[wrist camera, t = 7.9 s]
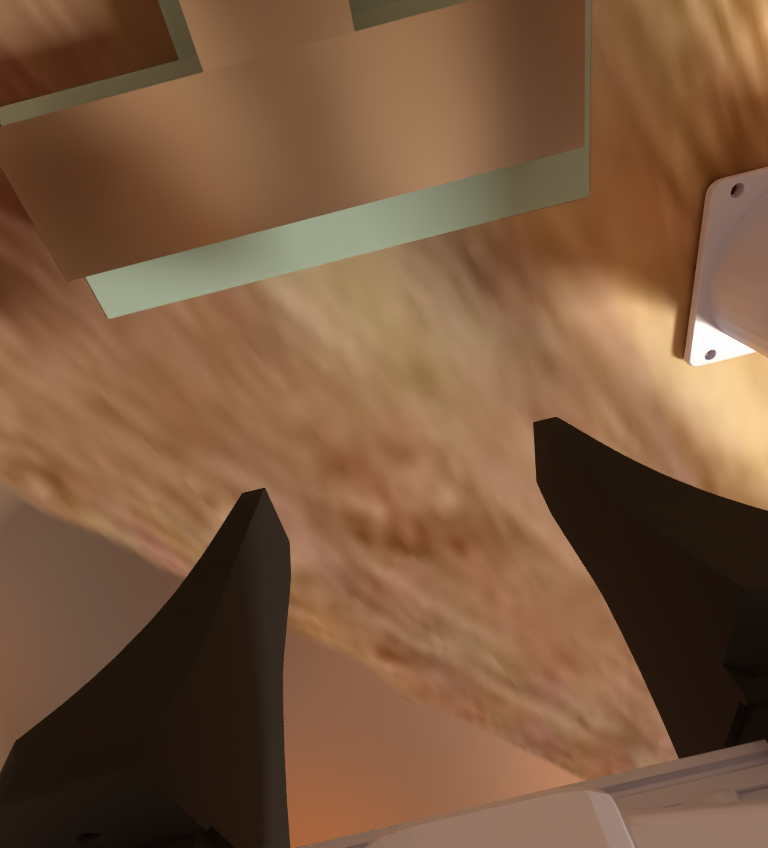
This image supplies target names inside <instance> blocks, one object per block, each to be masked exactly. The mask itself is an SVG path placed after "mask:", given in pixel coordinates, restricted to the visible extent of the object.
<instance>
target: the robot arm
mask: <svg viewBox="0 0 768 848" xmlns="http://www.w3.org/2000/svg"><path fill="white" fill-rule="evenodd" d="M736 184H737V189H736V191H735V192H734V194H733V195H731V190H732V188H733V187H734V185H736ZM709 350H710V352H709V353H708V354H707V355H706V356H705V354H706V353H707V352H708V351H709ZM754 352H758V353H760V354H762V355H764V356H766V357H768V166H767V167H763V168H760V169H756V170H752V171H748V172H744V173H740V174H736V175H732V176H728V177H724V178H720V179H718V180H716V181H714V182H713V183H712V184H711V185H710V187H709V188H708V190H707V193H706V196H705V204H704V211H703V219H702V226H701V234H700V241H699V249H698V257H697V264H696V272H695V279H694V287H693V295H692V302H691V310H690V317H689V325H688V332H687V340H686V348H685V355H684V359H685V362H686V363H687V364H689V365H690V366H693V367H698V366H702V365H706V364H710V363H714V362H718V361H722V360H726V359H730V358H734V357H738V356H742V355H746V354H750V353H754ZM533 426H534V444H535V463H536V481H537V484H538V486H539V488H540V491H541V493H542V495H543V497H544V499H545V502H546V504H547V506H548V508H549V510H550V512H551V514H552V516H553V517H554V519H555V520H556V522H557V524H558V525H559V527H560V528H561V530H562V532H563V533H564V535H565V536H566V538H567V539H568V541H569V543H570V544H571V546H572V547H573V549H574V550H575V552H576V553H577V555H578V557H579V558H580V560H581V561H582V563H583V564H584V566H585V568H586V569H587V571H588V572H589V574H590V575H591V577H592V578H593V580H594V582H595V583H596V585H597V587H598V588H599V590H600V592H601V593H602V595H603V597H604V599H605V601H606V603H607V605H608V607H609V609H610V611H611V613H612V615H613V617H614V619H615V620H616V622H617V624H618V626H619V628H620V630H621V632H622V634H623V637H624V639H625V641H626V643H627V645H628V647H629V649H630V651H631V653H632V655H633V657H634V659H635V661H636V664H637V666H638V668H639V670H640V672H641V674H642V676H643V679H644V681H645V683H646V685H647V687H648V689H649V692H650V694H651V696H652V698H653V700H654V703H655V705H656V707H657V709H658V711H659V714H660V716H661V718H662V720H663V723H664V725H665V727H666V730H667V732H668V734H669V737H670V739H671V741H672V744H673V746H674V748H675V751H676V753H677V755H678V758H679V759H677V760H673V761H669V762H664V763H660V764H656V765H651V766H647V767H643V768H638V769H634V770H630V771H625V772H621V773H617V774H612V775H608V776H604V777H599V778H595V779H591V780H586V781H582V782H578V783H574V784H569V785H565V786H561V787H556V788H552V789H548V790H543V791H539V792H535V793H531V794H526V795H522V796H517V797H513V798H509V799H504V800H500V801H496V802H491V803H487V804H483V805H478V806H474V807H470V808H465V809H461V810H457V811H452V812H448V813H444V814H440V815H435V816H431V817H427V818H422V819H418V820H414V821H409V822H405V823H400V824H396V825H392V826H388V827H383V828H379V829H375V830H370V831H366V832H362V833H357V834H353V835H349V836H344V837H340V838H336V839H332V840H327V841H323V842H319V843H314V844H310V845H306V846H301V847H297V848H768V511H767V510H763V509H760V508H756V507H752V506H749V505H746V504H743V503H740V502H736V501H733V500H730V499H727V498H724V497H721V496H718V495H715V494H712V493H709V492H706V491H704V490H701V489H698V488H696V487H693V486H691V485H688V484H686V483H683V482H680V481H678V480H675V479H673V478H671V477H668V476H666V475H664V474H661V473H659V472H657V471H655V470H653V469H651V468H649V467H647V466H645V465H642V464H640V463H638V462H636V461H634V460H632V459H630V458H628V457H626V456H624V455H623V454H621V453H619V452H617V451H615V450H613V449H611V448H610V447H608V446H606V445H604V444H602V443H601V442H599V441H597V440H595V439H594V438H592V437H590V436H589V435H587V434H585V433H583V432H582V431H580V430H578V429H577V428H575V427H573V426H572V425H570V424H568V423H567V422H565V421H563V420H561V419H560V418H558V417H553V418H549V419H545V420H541V421H537V422H533ZM290 582H291V563H290V544H289V540H288V537H287V535H286V533H285V531H284V529H283V526H282V524H281V522H280V520H279V518H278V515H277V513H276V511H275V509H274V507H273V504H272V502H271V500H270V498H269V496H268V493H267V491H266V489H265V488H261V489H257V490H253V491H249V492H245V493H242V495H241V496H240V498H239V499H238V501H237V502H236V504H235V505H234V507H233V509H232V510H231V512H230V513H229V515H228V517H227V518H226V520H225V521H224V523H223V524H222V526H221V528H220V529H219V531H218V532H217V534H216V535H215V537H214V539H213V540H212V542H211V543H210V545H209V546H208V548H207V549H206V551H205V552H204V554H203V555H202V557H201V558H200V559H199V561H198V562H197V563H196V565H195V566H194V568H193V569H192V570H191V572H190V573H189V574H188V576H187V577H186V579H185V580H184V581H183V583H182V584H181V585H180V587H179V588H178V589H177V591H176V592H175V593H174V594H173V596H172V597H171V598H170V599H169V600H168V601H167V603H166V604H165V605H164V606H163V607H162V608H161V610H160V611H159V612H158V613H157V614H156V615H155V617H154V618H153V619H152V620H151V621H150V622H149V623H148V624H147V625H146V626H145V627H144V628H143V629H142V631H141V632H140V633H139V634H138V635H137V636H136V637H135V638H134V639H133V640H132V641H131V642H130V643H129V644H128V645H127V646H126V647H125V648H124V649H123V650H122V651H121V652H120V653H119V654H118V655H117V656H116V657H115V658H114V659H113V660H112V661H111V662H110V663H109V664H108V665H107V666H105V667H104V668H103V669H102V670H101V671H100V672H99V673H98V674H97V675H96V676H95V677H94V678H92V679H91V680H90V681H89V682H88V683H87V684H85V685H84V686H83V687H82V688H81V689H80V690H79V691H78V692H76V693H75V694H74V695H73V696H72V697H70V698H69V699H68V700H67V701H66V702H65V703H63V704H62V705H61V706H60V707H58V708H57V709H56V710H54V711H53V712H52V713H51V714H49V715H48V716H47V717H46V718H44V719H43V720H42V721H41V722H40V723H38V724H37V725H36V726H34V727H33V728H32V729H31V730H29V731H28V732H27V733H26V734H24V735H23V736H22V737H21V738H19V739H18V740H16V742H15V743H14V745H13V747H12V749H11V751H10V754H9V756H8V758H7V760H6V762H5V764H4V766H3V768H2V770H1V772H0V848H290V839H289V826H288V825H289V824H288V811H287V794H286V774H285V755H284V725H283V723H284V721H283V661H284V648H285V637H286V627H287V616H288V605H289V594H290Z"/></svg>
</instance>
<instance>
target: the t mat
mask: <svg viewBox="0 0 768 848" xmlns="http://www.w3.org/2000/svg"><path fill="white" fill-rule="evenodd" d="M467 1H471V0H404V1H400V0H349V5H350V10H351V15H352V20H353V25H354V30H355V31H359V30H362V29H366V28H370V27H374V26H377V25H381V24H385V23H389V22H392V21H396V20H400V19H403V18H407V17H411V16H415V15H418V14H422V13H426V12H430V11H433V10H437V9H441V8H445V7H448V6H452V5H456V4H460V3H463V2H467ZM158 3H159V6H160V9H161V11H162V14H163V17H164V20H165V23H166V25H167V28H168V31H169V34H170V36H171V39H172V42H173V45H174V48H175V50H176V53H177V56H178V59H179V60H177V61H173V62H169V63H165V64H161V65H158V66H154V67H150V68H146V69H142V70H139V71H135V72H131V73H127V74H123V75H120V76H116V77H112V78H108V79H105V80H101V81H97V82H93V83H89V84H86V85H82V86H78V87H74V88H70V89H67V90H63V91H59V92H55V93H51V94H48V95H44V96H40V97H36V98H32V99H29V100H25V101H21V102H17V103H13V104H10V105H6V106H2V107H0V124H1V126H4V125H7V124H11V123H15V122H18V121H22V120H26V119H30V118H33V117H37V116H41V115H45V114H48V113H52V112H56V111H60V110H63V109H67V108H71V107H75V106H78V105H82V104H86V103H89V102H93V101H97V100H101V99H104V98H108V97H112V96H116V95H119V94H123V93H127V92H131V91H134V90H138V89H142V88H146V87H149V86H153V85H157V84H161V83H164V82H168V81H172V80H175V79H179V78H183V77H187V76H190V75H194V74H198V73H202V72H203V69H202V66H201V63H200V60H199V58H198V55H197V52H196V49H195V46H194V43H193V40H192V37H191V34H190V31H189V29H188V26H187V23H186V20H185V17H184V14H183V11H182V8H181V5H180V2H179V0H158ZM590 79H591V0H585V147H582V148H579V149H575V150H571V151H567V152H563V153H559V154H556V155H552V156H548V157H544V158H540V159H536V160H533V161H529V162H525V163H521V164H517V165H513V166H510V167H506V168H502V169H498V170H494V171H490V172H486V173H483V174H479V175H475V176H471V177H467V178H463V179H460V180H456V181H452V182H448V183H444V184H440V185H437V186H433V187H429V188H425V189H421V190H417V191H414V192H410V193H406V194H402V195H398V196H394V197H391V198H387V199H383V200H379V201H375V202H371V203H368V204H364V205H360V206H356V207H352V208H348V209H345V210H341V211H337V212H333V213H329V214H325V215H321V216H318V217H314V218H310V219H306V220H302V221H298V222H295V223H291V224H287V225H283V226H279V227H275V228H272V229H268V230H264V231H260V232H256V233H252V234H249V235H245V236H241V237H237V238H233V239H229V240H226V241H222V242H218V243H214V244H210V245H206V246H203V247H199V248H195V249H191V250H187V251H183V252H179V253H176V254H172V255H168V256H164V257H160V258H156V259H153V260H149V261H145V262H141V263H137V264H133V265H130V266H126V267H122V268H118V269H114V270H110V271H107V272H103V273H99V274H95V275H91V276H87V277H85V278H86V279H87V281H88V283H89V285H90V287H91V288H92V290H93V292H94V294H95V296H96V297H97V299H98V301H99V303H100V305H101V306H102V308H103V310H104V312H105V314H106V315H107V317H108V319H110V318H114V317H118V316H122V315H126V314H130V313H134V312H138V311H142V310H146V309H150V308H154V307H157V306H161V305H165V304H169V303H173V302H177V301H181V300H185V299H189V298H193V297H197V296H201V295H205V294H208V293H212V292H216V291H220V290H224V289H228V288H232V287H236V286H240V285H244V284H248V283H252V282H256V281H259V280H263V279H267V278H271V277H275V276H279V275H283V274H287V273H291V272H295V271H299V270H303V269H307V268H310V267H314V266H318V265H322V264H326V263H330V262H334V261H338V260H342V259H346V258H350V257H354V256H358V255H361V254H365V253H369V252H373V251H377V250H381V249H385V248H389V247H393V246H397V245H401V244H405V243H409V242H412V241H416V240H420V239H424V238H428V237H432V236H436V235H440V234H444V233H448V232H452V231H456V230H460V229H463V228H467V227H471V226H475V225H479V224H483V223H487V222H491V221H495V220H499V219H503V218H507V217H511V216H514V215H518V214H522V213H526V212H530V211H534V210H538V209H542V208H546V207H550V206H554V205H558V204H562V203H565V202H569V201H573V200H577V199H581V198H585V197H589V163H590Z"/></svg>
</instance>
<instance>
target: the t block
mask: <svg viewBox="0 0 768 848" xmlns="http://www.w3.org/2000/svg"><path fill="white" fill-rule="evenodd" d="M179 2H180V5H181V8H182V11H183V14H184V17H185V20H186V23H187V26H188V29H189V31H190V34H191V37H192V40H193V43H194V46H195V49H196V52H197V55H198V58H199V60H200V63H201V66H202V69H203V72H202V73H198V74H194V75H190V76H187V77H183V78H179V79H175V80H172V81H168V82H164V83H161V84H157V85H153V86H149V87H146V88H142V89H138V90H134V91H131V92H127V93H123V94H119V95H116V96H112V97H108V98H104V99H101V100H97V101H93V102H89V103H86V104H82V105H78V106H75V107H71V108H67V109H63V110H60V111H56V112H52V113H48V114H45V115H41V116H37V117H33V118H30V119H26V120H22V121H18V122H15V123H11V124H7V125H4V126H0V167H1V169H2V171H3V173H4V174H5V176H6V178H7V179H8V181H9V183H10V185H11V186H12V188H13V190H14V192H15V193H16V195H17V197H18V198H19V200H20V202H21V204H22V205H23V207H24V209H25V210H26V212H27V214H28V216H29V217H30V219H31V221H32V223H33V224H34V226H35V228H36V229H37V231H38V233H39V235H40V236H41V238H42V240H43V241H44V243H45V245H46V247H47V248H48V250H49V252H50V254H51V255H52V257H53V259H54V260H55V262H56V264H57V266H58V267H59V269H60V271H61V272H62V274H63V276H64V278H65V279H66V281H67V282H68V281H72V280H76V279H80V278H84V277H87V276H91V275H95V274H99V273H103V272H107V271H110V270H114V269H118V268H122V267H126V266H130V265H133V264H137V263H141V262H145V261H149V260H153V259H156V258H160V257H164V256H168V255H172V254H176V253H179V252H183V251H187V250H191V249H195V248H199V247H203V246H206V245H210V244H214V243H218V242H222V241H226V240H229V239H233V238H237V237H241V236H245V235H249V234H252V233H256V232H260V231H264V230H268V229H272V228H275V227H279V226H283V225H287V224H291V223H295V222H298V221H302V220H306V219H310V218H314V217H318V216H321V215H325V214H329V213H333V212H337V211H341V210H345V209H348V208H352V207H356V206H360V205H364V204H368V203H371V202H375V201H379V200H383V199H387V198H391V197H394V196H398V195H402V194H406V193H410V192H414V191H417V190H421V189H425V188H429V187H433V186H437V185H440V184H444V183H448V182H452V181H456V180H460V179H463V178H467V177H471V176H475V175H479V174H483V173H486V172H490V171H494V170H498V169H502V168H506V167H510V166H513V165H517V164H521V163H525V162H529V161H533V160H536V159H540V158H544V157H548V156H552V155H556V154H559V153H563V152H567V151H571V150H575V149H579V148H582V147H585V0H471V1H467V2H463V3H460V4H456V5H452V6H448V7H445V8H441V9H437V10H433V11H430V12H426V13H422V14H418V15H415V16H411V17H407V18H403V19H400V20H396V21H392V22H389V23H385V24H381V25H377V26H374V27H370V28H366V29H362V30H359V31H355V30H354V25H353V20H352V15H351V10H350V5H349V0H179Z"/></svg>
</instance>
